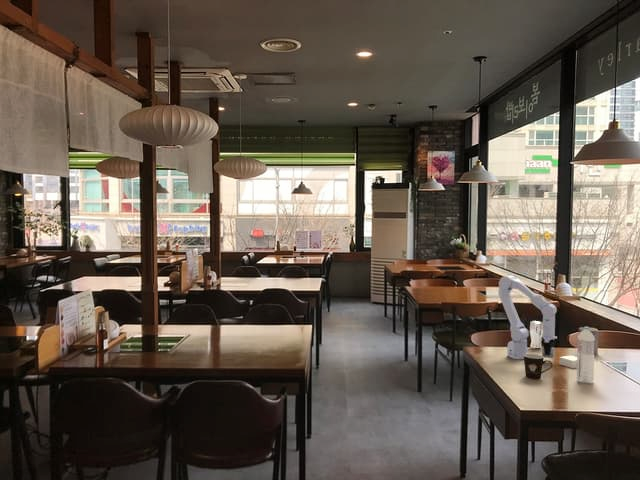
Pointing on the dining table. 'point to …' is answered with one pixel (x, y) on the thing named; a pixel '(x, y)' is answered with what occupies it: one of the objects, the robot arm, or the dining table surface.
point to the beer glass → (536, 333)
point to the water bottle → (585, 357)
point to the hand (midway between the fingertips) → (548, 353)
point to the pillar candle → (595, 333)
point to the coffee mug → (534, 366)
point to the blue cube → (550, 353)
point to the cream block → (568, 361)
